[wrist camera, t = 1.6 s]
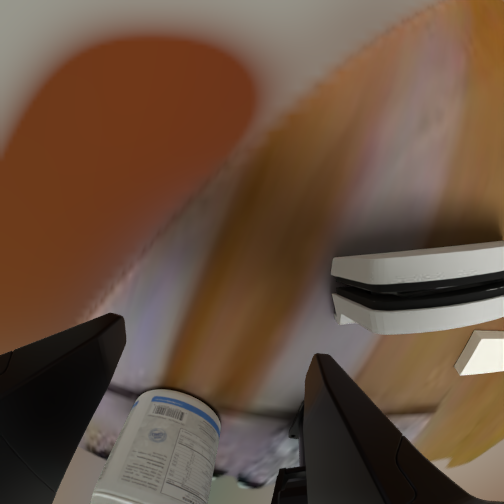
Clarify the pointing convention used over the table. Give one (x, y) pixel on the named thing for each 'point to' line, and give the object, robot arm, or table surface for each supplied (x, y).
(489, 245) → the white rounded block
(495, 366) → the white flat open rectangle
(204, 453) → the supplement tub
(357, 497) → the robot arm
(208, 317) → the table surface
